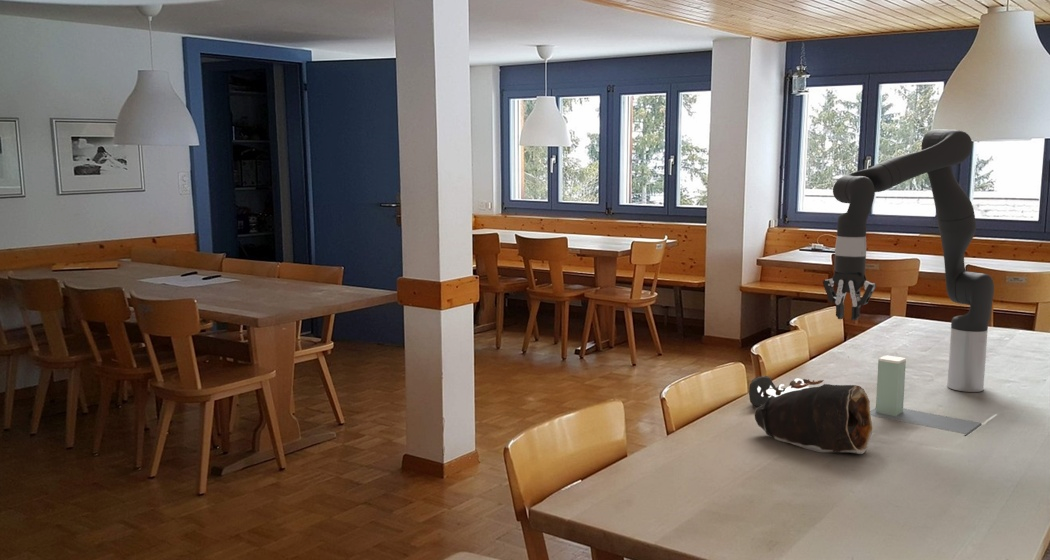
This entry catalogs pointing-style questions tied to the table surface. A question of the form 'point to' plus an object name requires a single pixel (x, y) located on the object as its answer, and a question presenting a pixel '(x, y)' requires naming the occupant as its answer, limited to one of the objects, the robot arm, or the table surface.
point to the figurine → (773, 389)
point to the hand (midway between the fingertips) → (847, 319)
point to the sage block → (890, 385)
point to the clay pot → (819, 418)
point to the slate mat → (932, 420)
